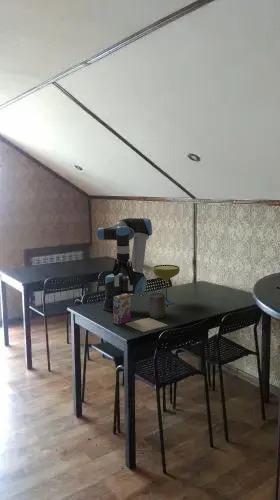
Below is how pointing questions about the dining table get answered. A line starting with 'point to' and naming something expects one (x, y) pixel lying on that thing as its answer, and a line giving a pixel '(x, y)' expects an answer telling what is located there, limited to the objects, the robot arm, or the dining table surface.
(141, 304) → the dining table surface
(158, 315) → the pillar candle
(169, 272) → the cocktail glass
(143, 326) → the mat
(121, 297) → the candy bar box
